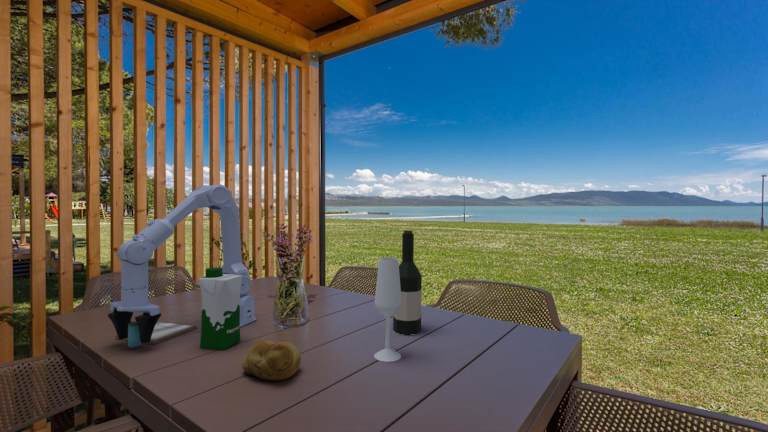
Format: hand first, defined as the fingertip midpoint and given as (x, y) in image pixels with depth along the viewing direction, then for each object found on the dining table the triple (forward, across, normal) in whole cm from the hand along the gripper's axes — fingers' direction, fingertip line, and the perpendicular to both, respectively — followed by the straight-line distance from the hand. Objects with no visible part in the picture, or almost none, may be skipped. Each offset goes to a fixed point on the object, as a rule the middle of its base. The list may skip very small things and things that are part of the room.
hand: (134, 340), depth 92 cm
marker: (+2, 0, 0) cm, 2 cm away
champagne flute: (+2, +63, +16) cm, 65 cm away
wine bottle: (+2, +63, +36) cm, 73 cm away
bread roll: (+2, +42, -1) cm, 42 cm away
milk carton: (+2, +19, +9) cm, 21 cm away
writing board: (+2, -4, +10) cm, 11 cm away
